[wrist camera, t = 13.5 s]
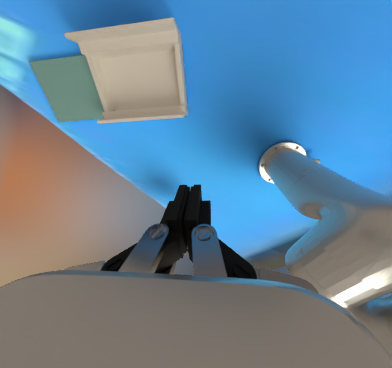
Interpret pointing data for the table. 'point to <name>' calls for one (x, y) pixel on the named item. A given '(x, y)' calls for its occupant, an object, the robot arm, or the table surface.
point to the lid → (69, 88)
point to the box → (136, 69)
